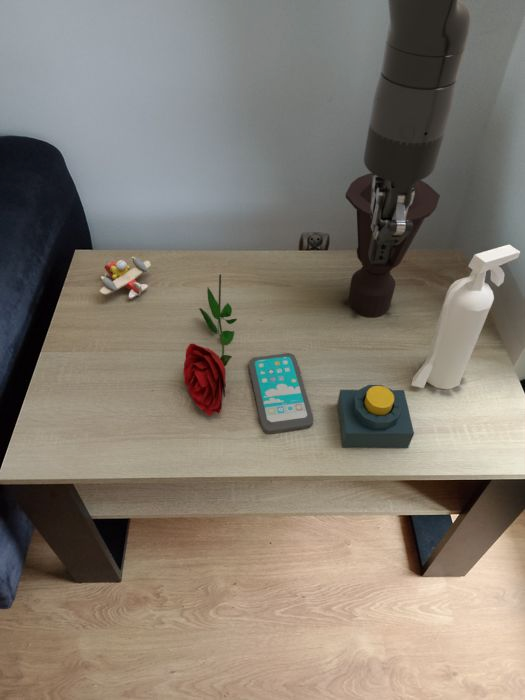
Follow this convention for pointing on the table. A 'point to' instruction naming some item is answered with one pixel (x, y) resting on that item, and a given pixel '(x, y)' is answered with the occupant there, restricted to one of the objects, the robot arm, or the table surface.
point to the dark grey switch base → (373, 421)
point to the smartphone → (280, 393)
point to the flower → (209, 362)
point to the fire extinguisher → (462, 320)
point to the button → (379, 400)
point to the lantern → (374, 279)
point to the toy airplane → (124, 277)
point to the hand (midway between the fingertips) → (377, 259)
